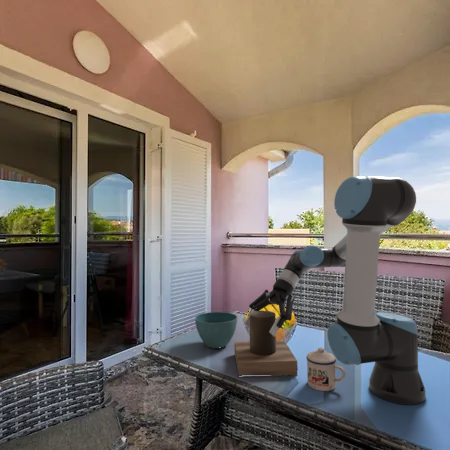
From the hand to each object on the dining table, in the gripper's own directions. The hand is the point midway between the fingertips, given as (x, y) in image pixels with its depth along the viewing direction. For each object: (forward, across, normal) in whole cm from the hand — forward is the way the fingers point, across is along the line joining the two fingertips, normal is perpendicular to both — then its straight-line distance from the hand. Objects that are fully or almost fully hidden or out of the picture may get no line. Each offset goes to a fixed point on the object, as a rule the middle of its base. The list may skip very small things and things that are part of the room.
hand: (258, 329), depth 119 cm
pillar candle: (+4, 0, -8) cm, 9 cm away
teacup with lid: (+5, -24, -14) cm, 29 cm away
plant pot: (+9, +27, -10) cm, 30 cm away
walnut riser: (+8, 0, -11) cm, 13 cm away
